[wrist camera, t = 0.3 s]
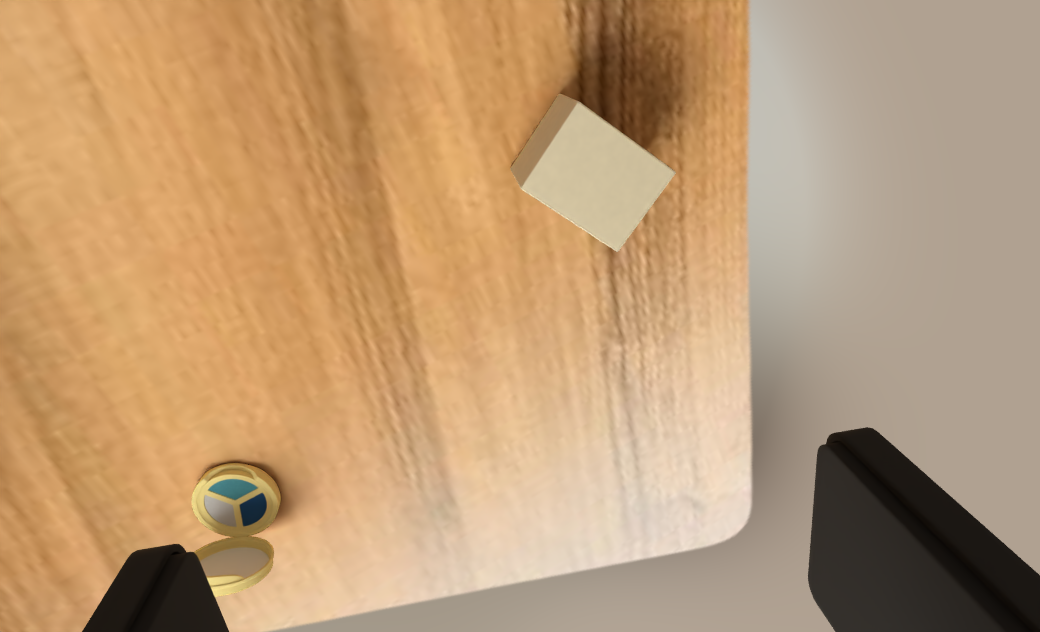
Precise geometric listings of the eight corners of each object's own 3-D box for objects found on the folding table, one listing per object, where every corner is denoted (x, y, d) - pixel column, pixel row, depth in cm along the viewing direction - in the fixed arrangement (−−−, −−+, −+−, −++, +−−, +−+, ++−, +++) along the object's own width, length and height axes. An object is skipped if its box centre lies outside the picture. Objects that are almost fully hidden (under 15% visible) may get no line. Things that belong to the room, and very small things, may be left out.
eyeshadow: (275, 461, 34) (250, 524, 30) (286, 535, 36) (263, 604, 32) (189, 464, 34) (150, 529, 29) (204, 539, 36) (170, 610, 31)
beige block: (559, 92, 29) (578, 101, 25) (645, 155, 30) (677, 172, 26) (509, 168, 30) (520, 188, 26) (594, 225, 31) (617, 252, 27)
